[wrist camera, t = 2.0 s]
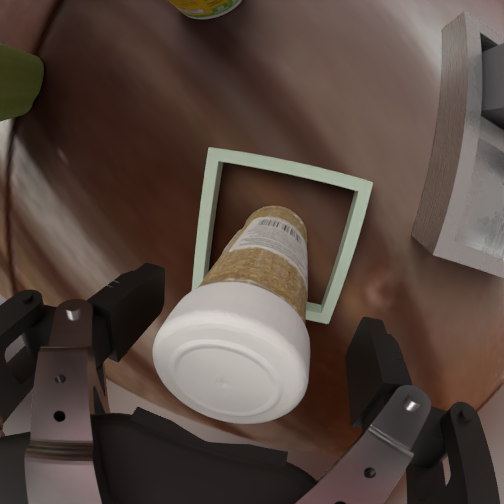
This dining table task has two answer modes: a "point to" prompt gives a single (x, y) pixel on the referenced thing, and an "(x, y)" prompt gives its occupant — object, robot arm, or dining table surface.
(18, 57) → the plant pot
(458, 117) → the divided grey caddy
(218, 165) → the tray frame
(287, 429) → the dining table surface
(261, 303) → the sprinkles bottle
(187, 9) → the supplement bottle
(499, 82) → the grey stepped square plug
